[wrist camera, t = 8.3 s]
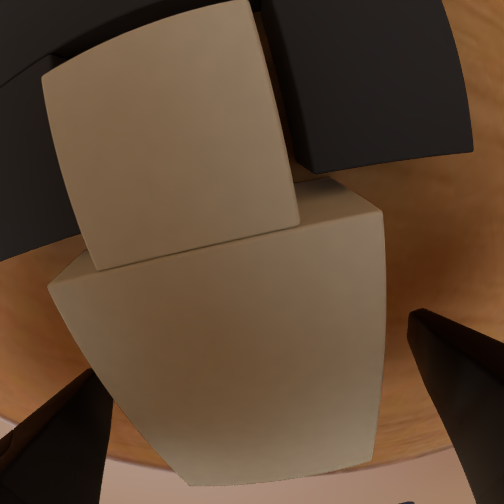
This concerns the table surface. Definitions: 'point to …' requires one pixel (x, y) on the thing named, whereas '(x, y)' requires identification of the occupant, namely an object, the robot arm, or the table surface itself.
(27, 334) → the table surface
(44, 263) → the table surface
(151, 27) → the beige stepped block
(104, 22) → the socket pad
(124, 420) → the table surface
